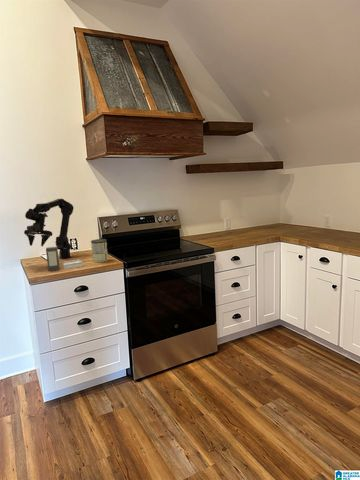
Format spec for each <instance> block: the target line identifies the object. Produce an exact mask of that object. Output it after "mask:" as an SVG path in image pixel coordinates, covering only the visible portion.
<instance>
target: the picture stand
mask: <svg viewBox="0 0 360 480" xmlns="http://www.w3.org/2000/svg"><path fill="white" fill-rule="evenodd" d="M62 265H63V266H62V267H63V268H64V269H65V270H68V269H69V270H70V269H76V268H83V267H84V262H83V261H81V259H80V258H79V259H74V260H67V261H62Z"/></svg>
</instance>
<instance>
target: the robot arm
mask: <svg viewBox="0 0 360 480" xmlns="http://www.w3.org/2000/svg"><path fill="white" fill-rule="evenodd" d="M56 207H58V208H59V209H60V213H61V215H62V217H61V224H60V231H59V235H58V236H56V237H55V247H57V249H58V250H59V251H58V258H60V259H62V260H64V259H68V258H72V255H71V249H72V246H73V245H71V244H70V242H69V238H68V229H69V223H70V217H71V215H72V214H73V213H74V209H75V208H74V206H73V204H72V203H70V202H69V201H67V200H65V199H64V198H56V199H54V200H52V201H48V202H42V203H36V204H35V207H33V208H28V210H27V211H26V212H25V214H24V217H25V218H26V220H30V221H34V222H33V223H32V225H27V226H26V229H25V230H24V233H23V234H24V235H25V236H26V237H27V238H28V242H29V243H28V244H29V247H30V246H33V244H34V241H35V238H36V236H35V235H40V236H41V243H40V246H41V247H44V245H45V244H46V242H47V241H48V240H49V239H50V238H51V237H53V231H51V230H45V227H46V224H45V222H46V218H48V217H49V216H48V215H47V213H48V212H49V211H50V210H51V209H53V208H56Z"/></svg>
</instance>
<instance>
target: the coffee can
mask: <svg viewBox="0 0 360 480" xmlns="http://www.w3.org/2000/svg"><path fill="white" fill-rule="evenodd" d="M90 244H91V253H92V262H93V263H104V261H105V262H107V261H108V260H109V256H108V254H109V253H108V247H107V246H108V243H107V239H105V238H97V239H92V240H90Z"/></svg>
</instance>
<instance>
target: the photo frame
mask: <svg viewBox="0 0 360 480" xmlns="http://www.w3.org/2000/svg"><path fill="white" fill-rule="evenodd" d="M58 250H59V249H57V246H49V247H45V252H46V261H47V269H48V272H49V271H57V270H58V271H59V270H60V260H59V251H58Z"/></svg>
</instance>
